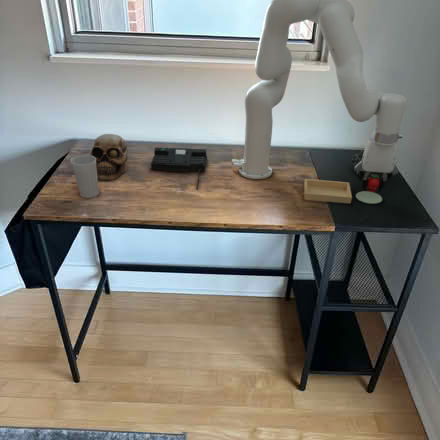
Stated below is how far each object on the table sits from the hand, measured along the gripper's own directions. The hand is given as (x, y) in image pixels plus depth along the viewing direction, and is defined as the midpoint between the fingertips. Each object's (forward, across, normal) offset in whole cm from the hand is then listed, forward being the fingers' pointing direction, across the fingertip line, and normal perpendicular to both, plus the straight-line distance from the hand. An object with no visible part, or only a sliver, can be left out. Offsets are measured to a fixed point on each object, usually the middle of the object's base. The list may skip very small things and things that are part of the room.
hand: (371, 189), depth 153 cm
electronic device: (+3, +70, -10) cm, 71 cm away
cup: (+3, +96, +14) cm, 97 cm away
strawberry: (0, 0, 0) cm, 0 cm away
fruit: (+4, +1, -19) cm, 19 cm away
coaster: (+4, 0, 0) cm, 4 cm away
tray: (+4, +15, 0) cm, 15 cm away
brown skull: (+3, +95, -6) cm, 95 cm away
